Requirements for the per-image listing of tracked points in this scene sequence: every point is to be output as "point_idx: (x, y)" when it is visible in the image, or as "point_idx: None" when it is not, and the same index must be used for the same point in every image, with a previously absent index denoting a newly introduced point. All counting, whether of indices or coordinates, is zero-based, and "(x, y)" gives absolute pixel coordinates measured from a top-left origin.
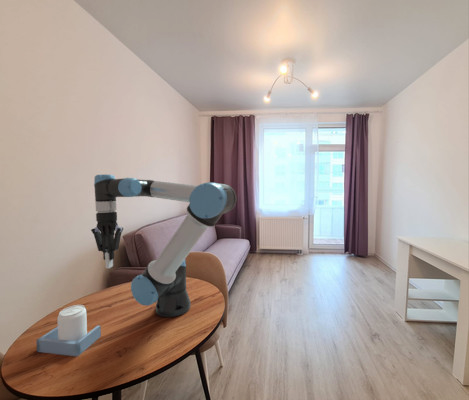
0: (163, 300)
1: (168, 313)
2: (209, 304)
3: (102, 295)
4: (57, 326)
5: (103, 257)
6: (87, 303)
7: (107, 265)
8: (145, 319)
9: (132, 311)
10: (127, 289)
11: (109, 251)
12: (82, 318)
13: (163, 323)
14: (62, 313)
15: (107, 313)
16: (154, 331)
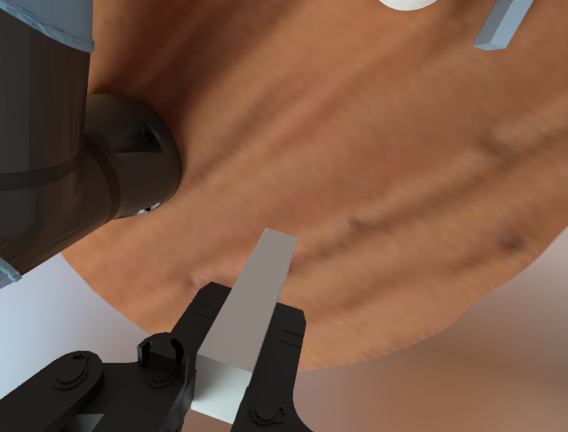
0: (100, 123)
1: (109, 95)
2: None
3: (412, 310)
4: (529, 4)
5: (303, 336)
6: (455, 266)
7: (271, 246)
8: (192, 96)
9: (258, 164)
10: (329, 324)
11: (148, 356)
12: None
13: (123, 57)
14: None
15: (348, 170)
16: (132, 4)
